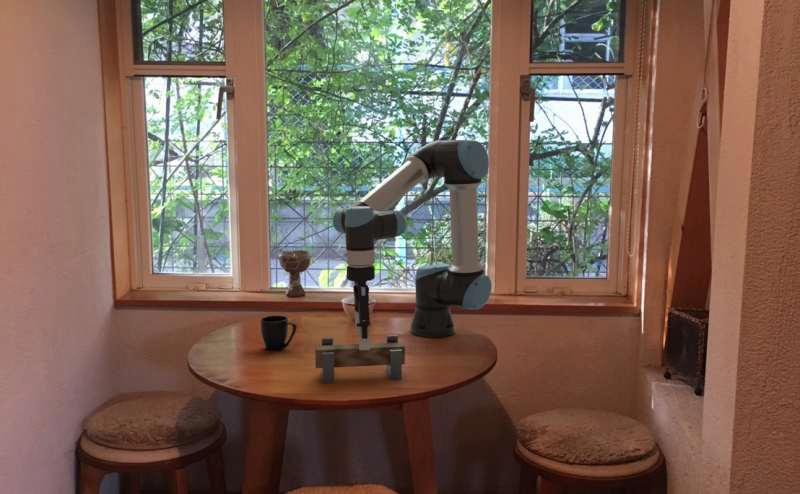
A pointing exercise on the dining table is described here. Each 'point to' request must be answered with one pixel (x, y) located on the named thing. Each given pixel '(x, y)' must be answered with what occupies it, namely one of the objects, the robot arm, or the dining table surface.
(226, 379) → the dining table surface
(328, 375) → the bracket
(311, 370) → the dining table surface
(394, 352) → the bracket
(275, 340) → the mug
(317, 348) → the rail
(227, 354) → the dining table surface
